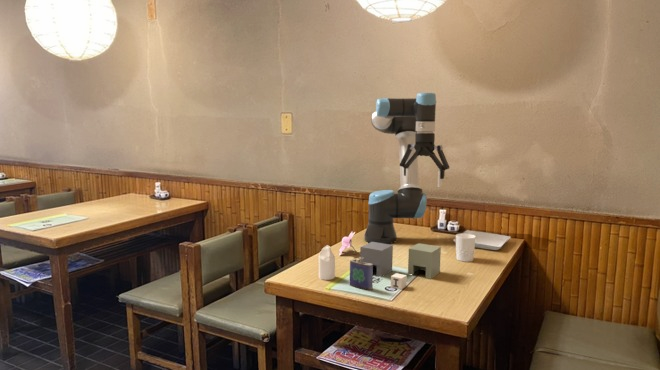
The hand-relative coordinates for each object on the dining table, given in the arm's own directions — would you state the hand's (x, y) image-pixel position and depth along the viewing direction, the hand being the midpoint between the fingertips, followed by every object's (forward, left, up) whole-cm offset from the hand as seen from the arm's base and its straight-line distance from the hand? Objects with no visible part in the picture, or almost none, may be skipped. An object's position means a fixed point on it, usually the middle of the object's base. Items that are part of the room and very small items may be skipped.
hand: (423, 185), depth 199 cm
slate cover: (-8, -24, -31) cm, 40 cm away
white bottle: (-20, -40, -31) cm, 54 cm away
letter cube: (+6, -34, -31) cm, 46 cm away
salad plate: (+14, +38, -31) cm, 51 cm away
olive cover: (+8, -16, -31) cm, 36 cm away
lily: (-30, -9, -31) cm, 44 cm away
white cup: (+15, +10, -31) cm, 36 cm away
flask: (-5, -42, -31) cm, 52 cm away
